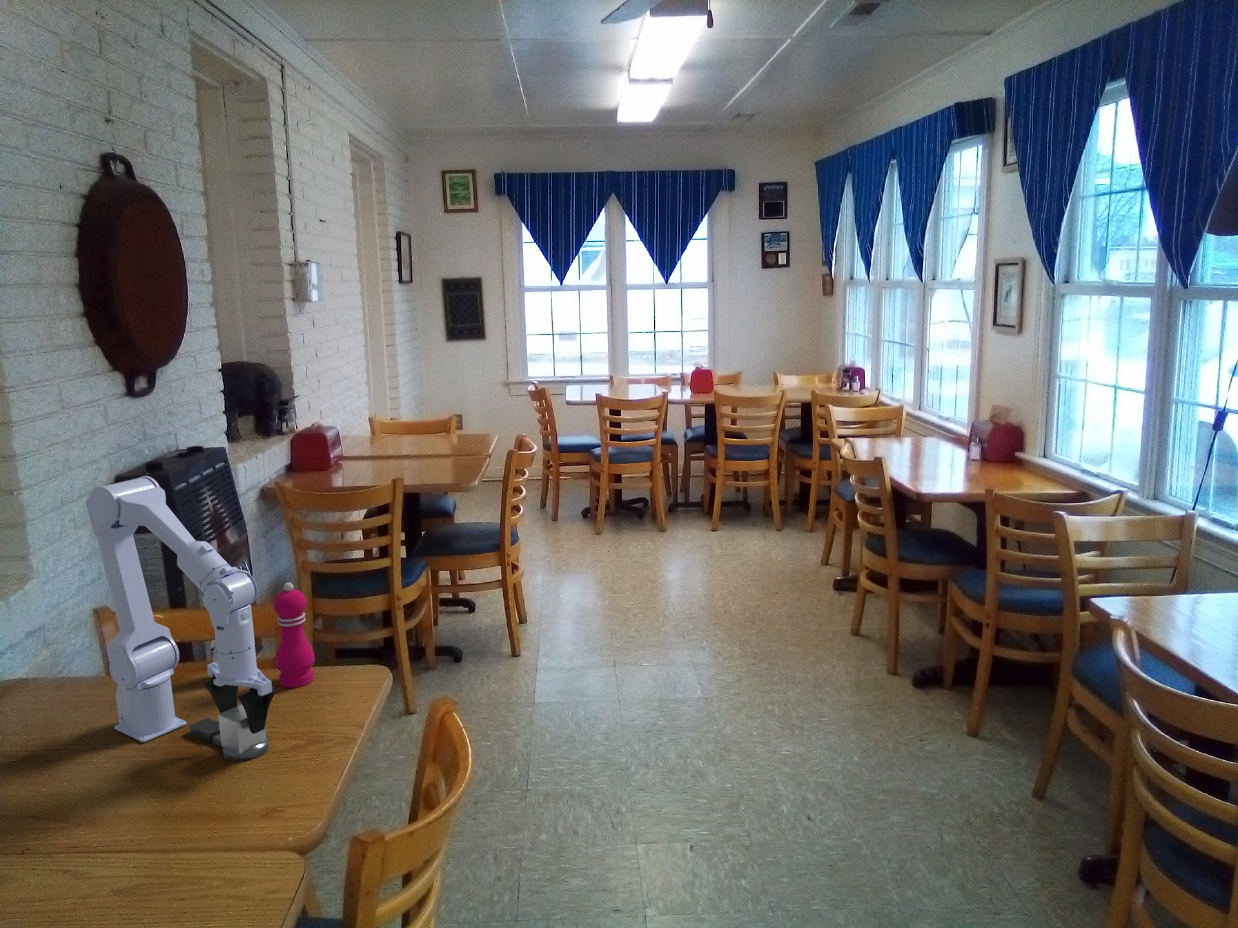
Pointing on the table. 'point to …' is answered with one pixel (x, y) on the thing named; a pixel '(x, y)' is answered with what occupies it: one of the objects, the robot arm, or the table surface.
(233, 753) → the ratchet
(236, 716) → the metal cube
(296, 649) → the pepper mill
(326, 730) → the table surface
